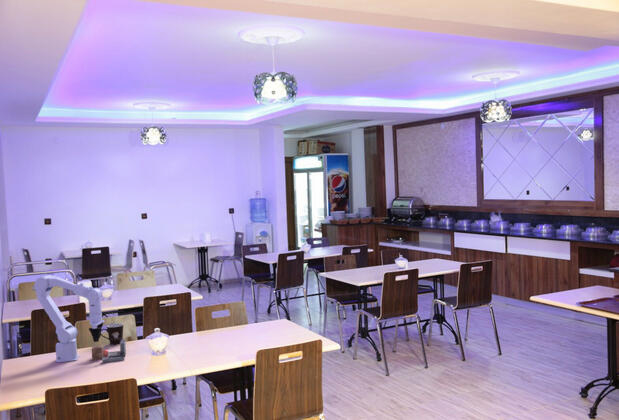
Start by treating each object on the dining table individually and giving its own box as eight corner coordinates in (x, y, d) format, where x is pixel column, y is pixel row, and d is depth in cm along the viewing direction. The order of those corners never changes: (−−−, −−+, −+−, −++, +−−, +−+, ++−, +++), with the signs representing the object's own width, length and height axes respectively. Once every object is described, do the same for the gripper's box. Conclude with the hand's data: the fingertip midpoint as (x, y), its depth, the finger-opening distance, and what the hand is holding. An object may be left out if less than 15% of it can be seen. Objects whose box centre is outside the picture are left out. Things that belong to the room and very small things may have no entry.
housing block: (92, 360, 280) (91, 348, 280) (93, 357, 285) (92, 345, 285) (102, 359, 282) (102, 347, 281) (104, 356, 287) (103, 344, 286)
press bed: (102, 362, 275) (101, 348, 275) (105, 354, 289) (104, 341, 289) (124, 360, 278) (123, 346, 278) (126, 352, 291) (125, 339, 291)
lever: (102, 359, 275) (101, 351, 275) (102, 358, 278) (102, 349, 278) (108, 359, 276) (108, 350, 276) (109, 357, 278) (108, 349, 278)
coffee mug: (127, 341, 315) (126, 323, 314) (120, 345, 306) (119, 327, 306) (107, 341, 316) (105, 323, 315) (99, 345, 307) (98, 327, 307)
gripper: (102, 315, 277) (104, 342, 277) (105, 309, 291) (107, 335, 291) (87, 316, 275) (88, 344, 275) (90, 310, 289) (92, 336, 289)
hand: (97, 339), depth 283 cm, fingers open, 7 cm apart
